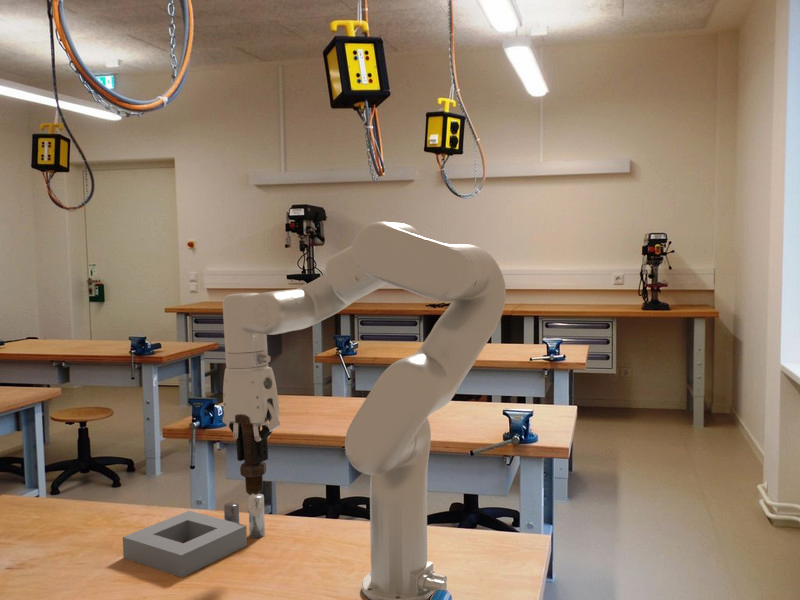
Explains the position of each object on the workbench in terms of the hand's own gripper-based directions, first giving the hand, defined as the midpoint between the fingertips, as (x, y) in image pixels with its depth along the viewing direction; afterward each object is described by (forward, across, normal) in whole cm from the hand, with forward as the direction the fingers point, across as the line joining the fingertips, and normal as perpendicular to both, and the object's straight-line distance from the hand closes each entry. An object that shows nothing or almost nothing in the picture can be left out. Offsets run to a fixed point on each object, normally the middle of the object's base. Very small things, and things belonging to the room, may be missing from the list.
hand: (252, 459), depth 133 cm
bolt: (+7, 0, 0) cm, 7 cm away
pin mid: (+19, +9, -9) cm, 22 cm away
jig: (+18, +15, +4) cm, 24 cm away
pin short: (+18, +16, -9) cm, 26 cm away
